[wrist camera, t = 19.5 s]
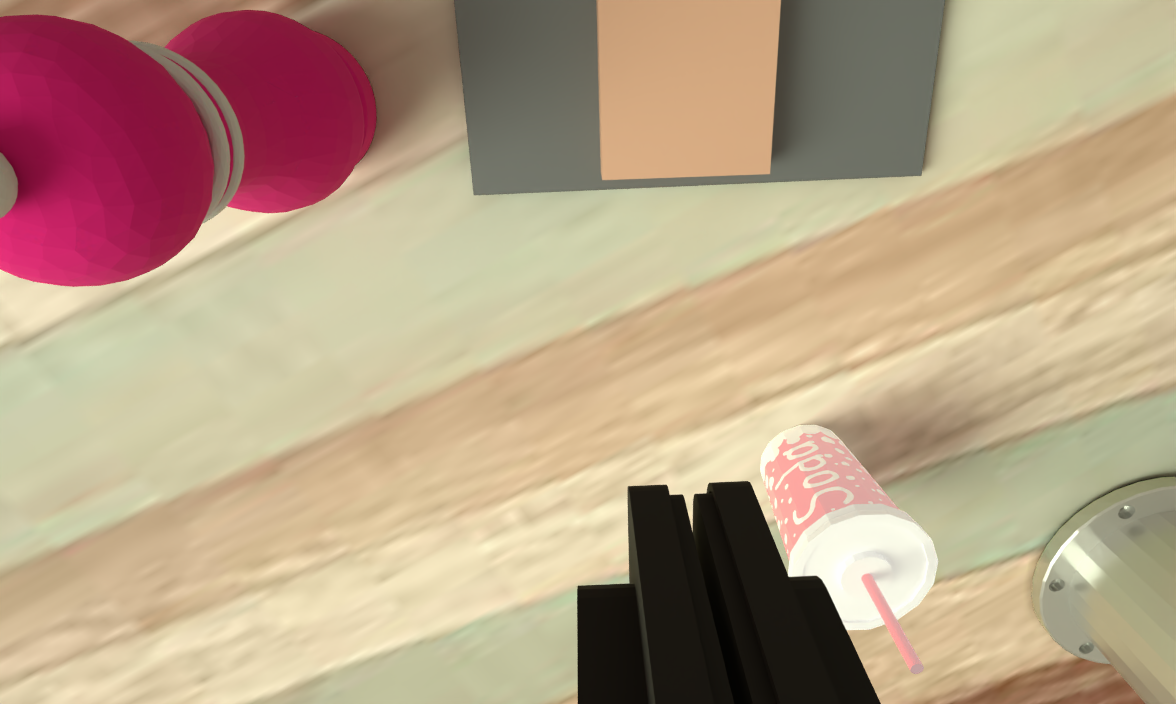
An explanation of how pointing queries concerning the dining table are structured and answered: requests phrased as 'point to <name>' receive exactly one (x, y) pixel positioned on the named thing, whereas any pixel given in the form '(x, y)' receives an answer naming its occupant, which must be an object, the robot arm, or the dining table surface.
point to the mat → (801, 110)
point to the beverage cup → (847, 532)
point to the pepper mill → (164, 137)
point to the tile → (686, 87)
